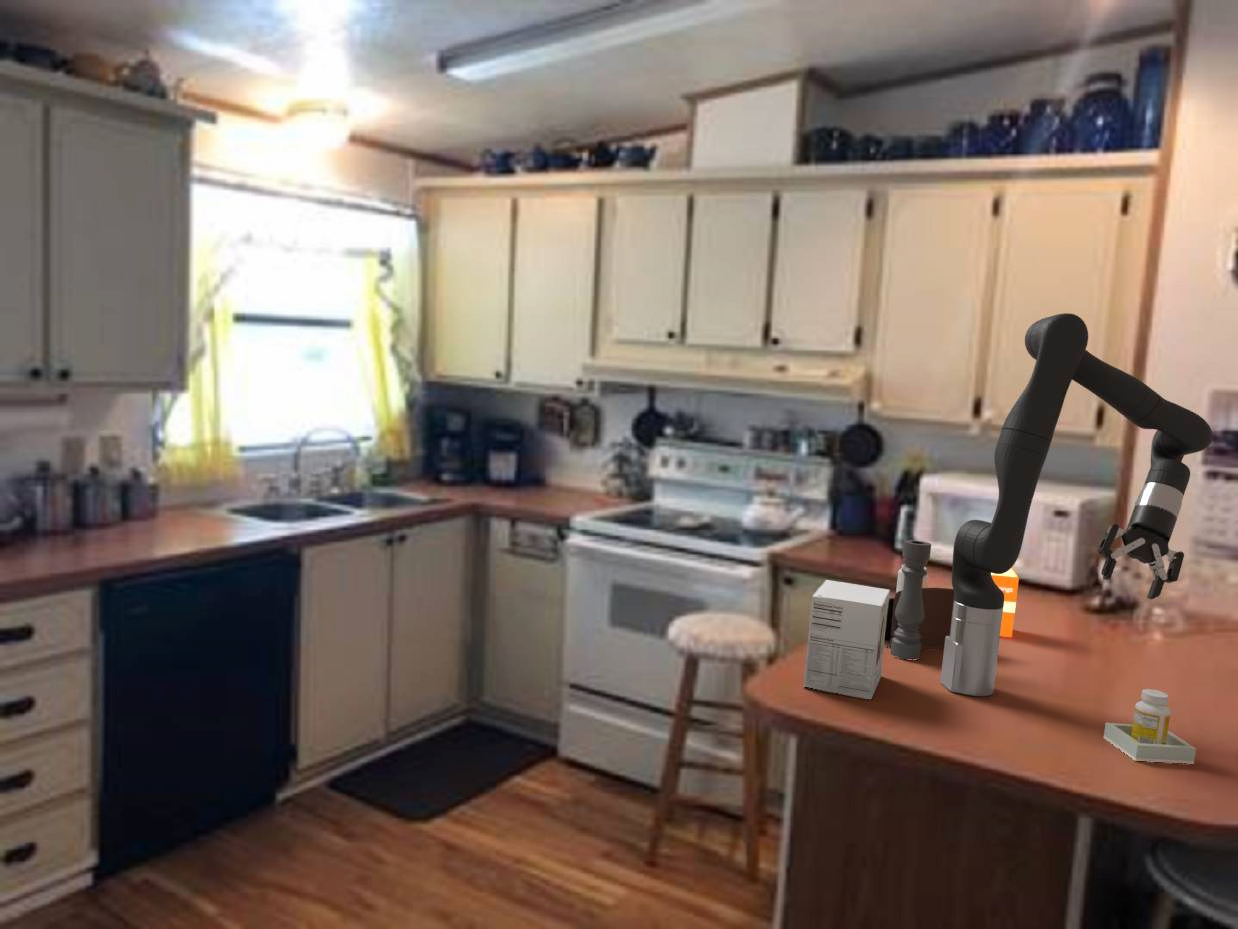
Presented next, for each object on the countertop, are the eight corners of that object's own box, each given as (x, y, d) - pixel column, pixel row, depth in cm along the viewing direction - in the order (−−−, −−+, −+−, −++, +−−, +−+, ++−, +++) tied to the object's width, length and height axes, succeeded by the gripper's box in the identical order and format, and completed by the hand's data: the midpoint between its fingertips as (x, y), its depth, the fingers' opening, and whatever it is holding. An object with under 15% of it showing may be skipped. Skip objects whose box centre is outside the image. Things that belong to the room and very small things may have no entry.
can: (927, 612, 259) (933, 566, 258) (919, 617, 253) (924, 570, 251) (899, 606, 263) (904, 561, 262) (890, 611, 257) (895, 565, 255)
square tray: (1135, 761, 166) (1137, 745, 166) (1103, 738, 176) (1105, 722, 176) (1193, 764, 167) (1196, 748, 166) (1158, 741, 176) (1160, 725, 176)
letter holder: (968, 650, 227) (975, 589, 225) (890, 651, 221) (897, 588, 220) (943, 637, 236) (950, 578, 235) (867, 637, 231) (874, 577, 229)
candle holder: (924, 657, 218) (937, 544, 215) (911, 662, 213) (924, 546, 210) (898, 650, 222) (910, 538, 219) (885, 655, 217) (897, 541, 214)
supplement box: (873, 701, 186) (883, 606, 184) (801, 688, 191) (810, 595, 189) (882, 676, 202) (892, 588, 200) (816, 664, 207) (825, 578, 205)
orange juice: (1002, 627, 249) (1011, 548, 247) (1012, 637, 240) (1022, 555, 238) (969, 624, 250) (979, 545, 247) (978, 634, 241) (988, 552, 239)
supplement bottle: (1141, 753, 168) (1149, 697, 167) (1123, 740, 174) (1130, 686, 173) (1172, 754, 169) (1180, 699, 168) (1152, 741, 174) (1160, 688, 173)
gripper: (1127, 492, 189) (1099, 569, 186) (1203, 523, 187) (1175, 602, 184) (1111, 501, 197) (1083, 575, 193) (1183, 531, 194) (1156, 607, 191)
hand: (1128, 588), depth 188 cm, fingers open, 8 cm apart
